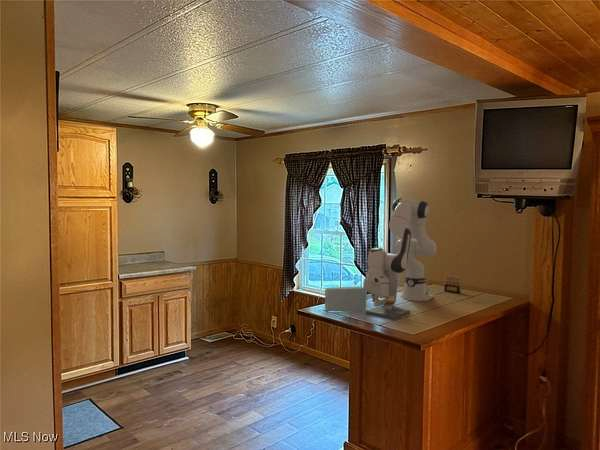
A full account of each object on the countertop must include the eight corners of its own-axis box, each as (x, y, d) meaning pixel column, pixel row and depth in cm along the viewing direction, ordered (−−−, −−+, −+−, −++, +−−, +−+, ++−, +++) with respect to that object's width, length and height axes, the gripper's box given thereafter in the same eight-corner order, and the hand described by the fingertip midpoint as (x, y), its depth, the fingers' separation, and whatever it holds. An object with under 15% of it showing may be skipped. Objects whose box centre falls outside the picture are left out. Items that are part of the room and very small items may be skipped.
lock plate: (382, 308, 264) (382, 298, 264) (410, 313, 252) (410, 303, 252) (365, 314, 250) (366, 303, 250) (394, 320, 239) (394, 309, 238)
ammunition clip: (444, 291, 314) (444, 274, 314) (445, 291, 316) (445, 274, 315) (459, 293, 308) (460, 276, 307) (460, 293, 309) (460, 275, 309)
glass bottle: (396, 308, 265) (397, 261, 263) (378, 307, 267) (380, 260, 265) (396, 304, 275) (397, 259, 273) (379, 303, 277) (380, 258, 275)
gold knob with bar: (384, 300, 256) (385, 293, 256) (398, 303, 251) (398, 296, 251) (368, 306, 243) (368, 298, 243) (382, 308, 238) (382, 301, 237)
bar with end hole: (327, 312, 253) (327, 289, 252) (324, 310, 259) (325, 287, 258) (366, 311, 258) (366, 288, 257) (362, 308, 264) (363, 286, 263)
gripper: (360, 274, 255) (360, 298, 256) (381, 280, 236) (380, 306, 237) (370, 273, 257) (369, 297, 258) (391, 280, 239) (390, 305, 239)
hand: (375, 302), depth 247 cm, fingers closed
